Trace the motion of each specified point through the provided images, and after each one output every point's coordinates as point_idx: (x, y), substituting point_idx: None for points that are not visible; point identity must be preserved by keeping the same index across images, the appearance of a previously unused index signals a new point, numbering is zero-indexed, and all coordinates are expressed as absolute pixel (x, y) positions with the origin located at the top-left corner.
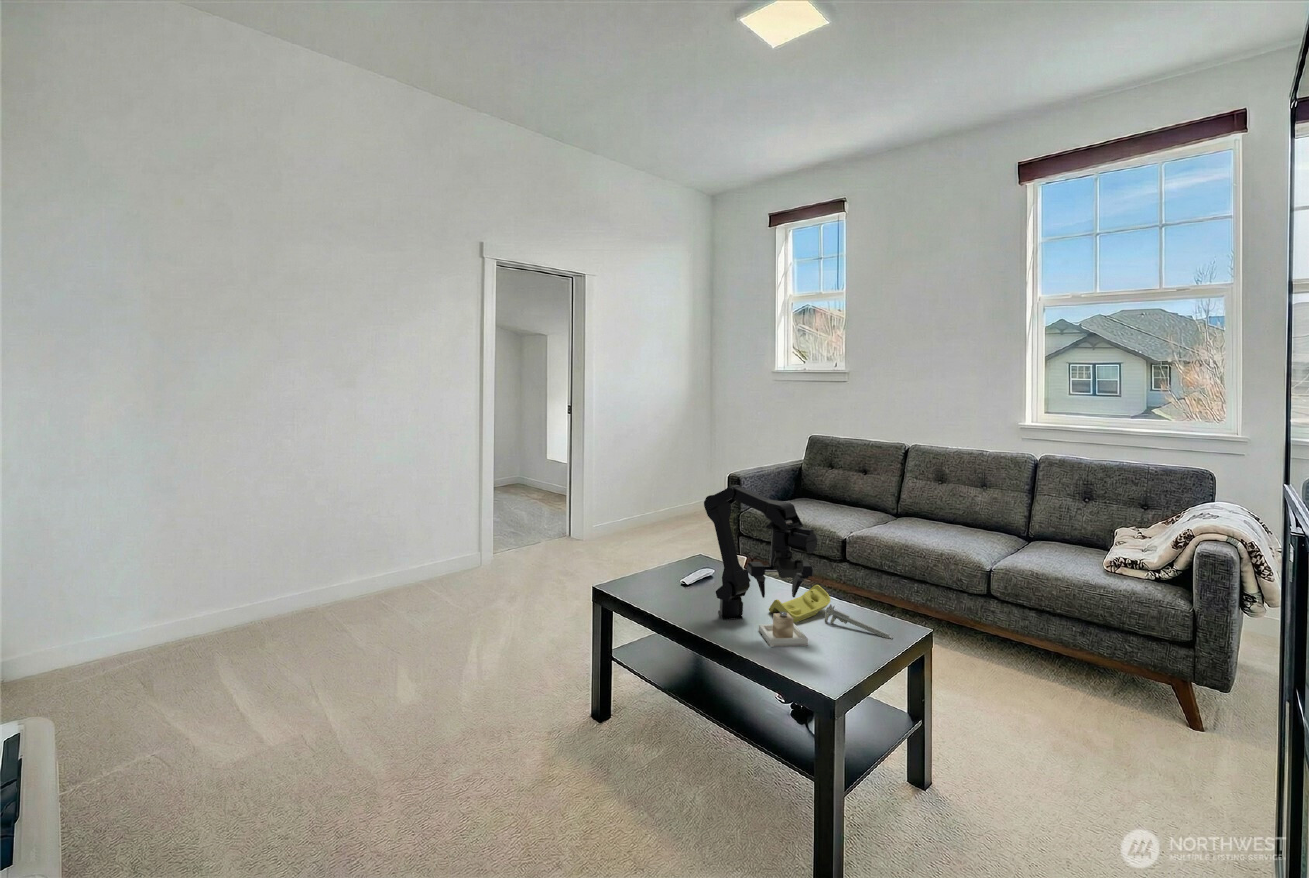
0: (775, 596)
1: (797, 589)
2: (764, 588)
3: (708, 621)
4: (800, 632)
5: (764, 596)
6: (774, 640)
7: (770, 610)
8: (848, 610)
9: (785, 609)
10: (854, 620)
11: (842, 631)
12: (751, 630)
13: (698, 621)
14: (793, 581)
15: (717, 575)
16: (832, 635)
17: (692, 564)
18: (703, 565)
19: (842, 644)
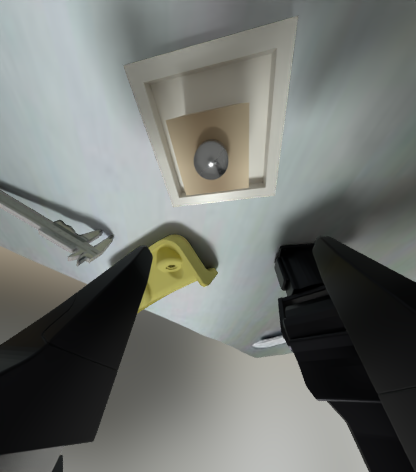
0: (195, 306)
1: (96, 280)
2: (386, 286)
3: (368, 235)
4: (155, 138)
5: (324, 240)
6: (275, 23)
7: (215, 269)
8: (87, 274)
9: (188, 258)
10: (25, 217)
11: (66, 196)
12: (287, 191)
13: (394, 235)
14: (113, 344)
15: (254, 339)
16: (81, 170)
17: (271, 352)
18: (260, 350)
19: (29, 98)
